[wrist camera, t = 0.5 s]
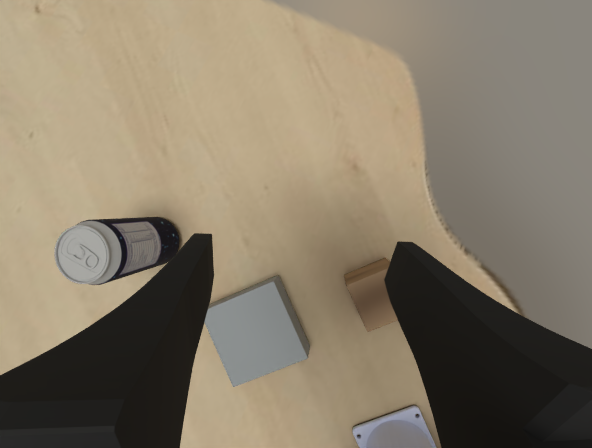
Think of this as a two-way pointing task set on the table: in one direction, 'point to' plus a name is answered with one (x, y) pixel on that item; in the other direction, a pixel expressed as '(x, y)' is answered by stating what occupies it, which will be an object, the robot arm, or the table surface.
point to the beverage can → (114, 248)
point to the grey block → (256, 331)
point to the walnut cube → (371, 294)
